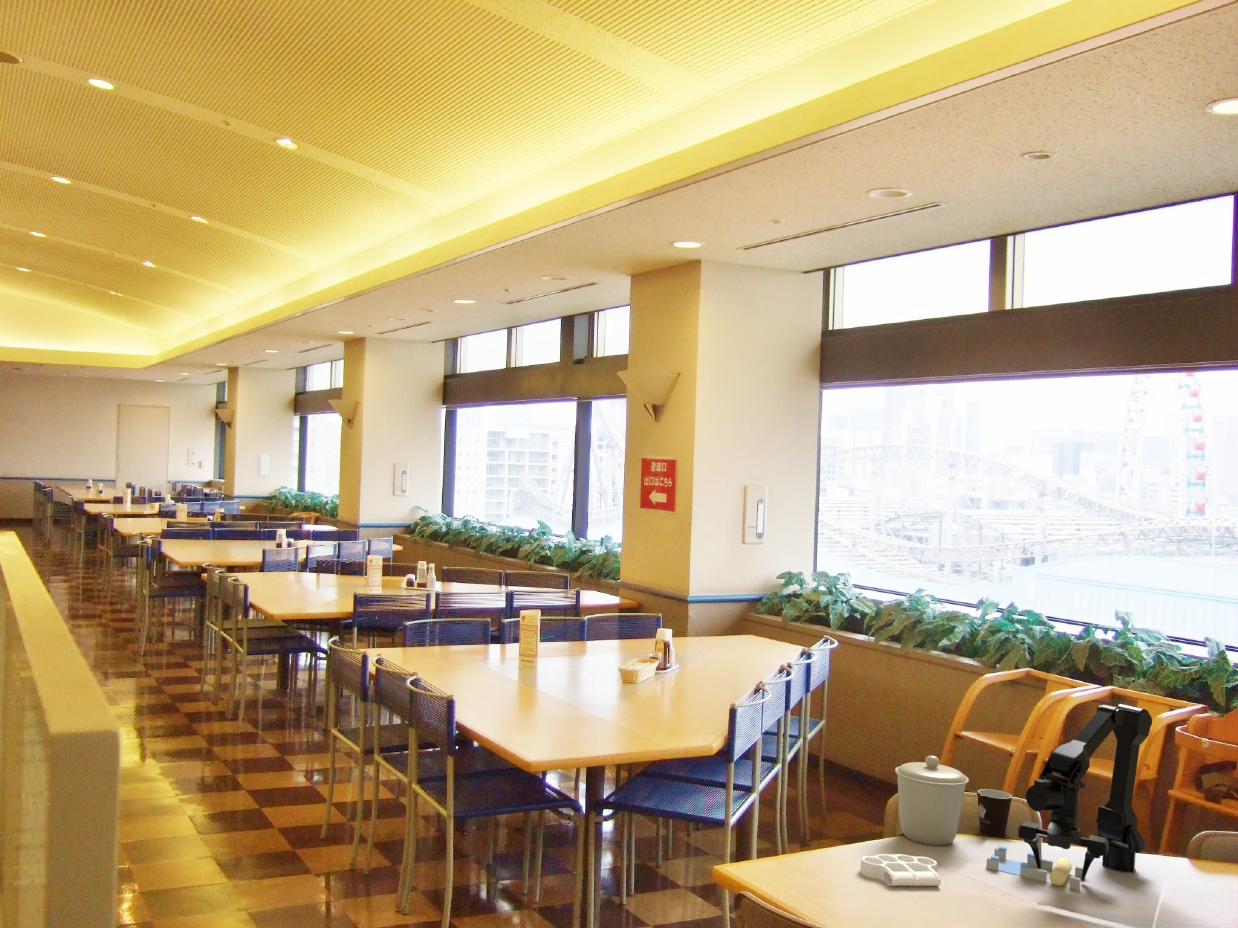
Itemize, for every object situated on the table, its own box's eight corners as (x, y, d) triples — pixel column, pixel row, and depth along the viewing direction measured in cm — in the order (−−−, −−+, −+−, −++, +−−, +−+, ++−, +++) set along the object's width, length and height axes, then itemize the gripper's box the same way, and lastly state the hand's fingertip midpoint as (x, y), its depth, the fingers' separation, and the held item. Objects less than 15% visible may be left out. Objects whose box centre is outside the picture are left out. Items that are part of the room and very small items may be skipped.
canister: (980, 846, 262) (985, 762, 262) (931, 854, 252) (936, 767, 253) (924, 824, 277) (929, 744, 278) (876, 831, 267) (881, 749, 268)
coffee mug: (1012, 838, 269) (1014, 800, 270) (977, 834, 271) (979, 795, 272) (1005, 825, 281) (1007, 788, 281) (971, 821, 283) (973, 784, 283)
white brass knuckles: (878, 889, 227) (851, 865, 241) (954, 889, 230) (923, 866, 244) (879, 874, 227) (852, 851, 241) (954, 874, 230) (923, 851, 245)
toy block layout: (1084, 881, 240) (1085, 864, 241) (1078, 894, 232) (1079, 877, 232) (995, 860, 251) (996, 844, 251) (985, 872, 242) (986, 855, 242)
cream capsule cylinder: (1057, 870, 244) (1057, 856, 244) (1071, 873, 242) (1072, 859, 242) (1048, 885, 233) (1049, 870, 233) (1063, 888, 232) (1064, 874, 232)
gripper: (1015, 806, 237) (1011, 875, 236) (1105, 824, 227) (1101, 896, 227) (1024, 795, 246) (1020, 862, 246) (1110, 813, 237) (1107, 882, 236)
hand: (1060, 875), depth 238 cm, fingers open, 9 cm apart
